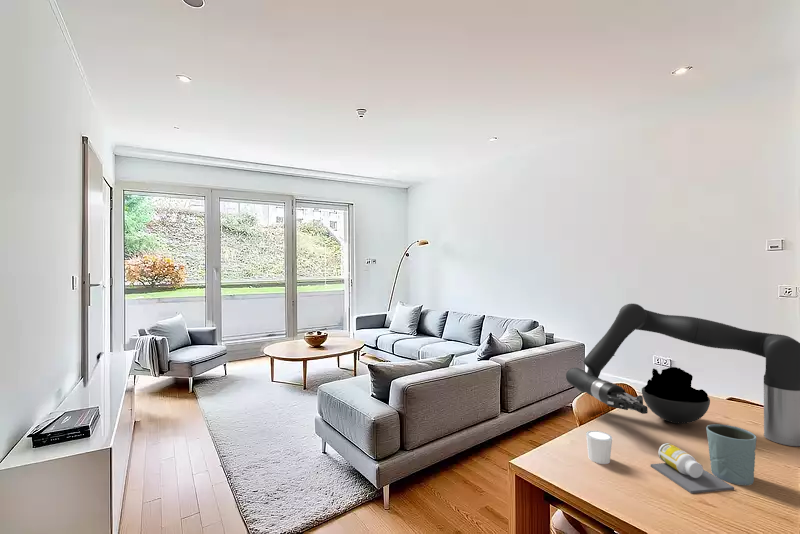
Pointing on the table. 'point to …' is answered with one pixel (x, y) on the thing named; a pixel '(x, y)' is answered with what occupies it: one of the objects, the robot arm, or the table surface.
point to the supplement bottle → (680, 460)
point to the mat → (693, 480)
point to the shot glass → (599, 446)
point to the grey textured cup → (732, 453)
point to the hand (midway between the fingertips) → (645, 410)
